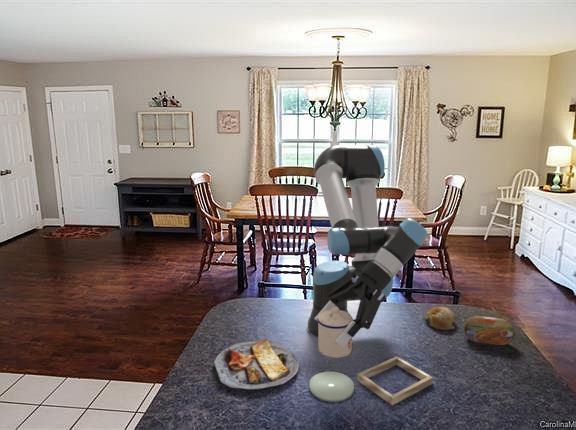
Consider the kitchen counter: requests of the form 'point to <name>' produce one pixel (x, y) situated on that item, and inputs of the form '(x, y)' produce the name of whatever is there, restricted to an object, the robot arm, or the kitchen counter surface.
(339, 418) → the kitchen counter surface
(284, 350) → the food plate
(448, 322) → the bread roll
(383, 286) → the robot arm
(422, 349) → the kitchen counter surface
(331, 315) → the teacup with lid
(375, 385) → the wooden frame
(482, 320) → the tin
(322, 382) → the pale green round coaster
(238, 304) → the kitchen counter surface
